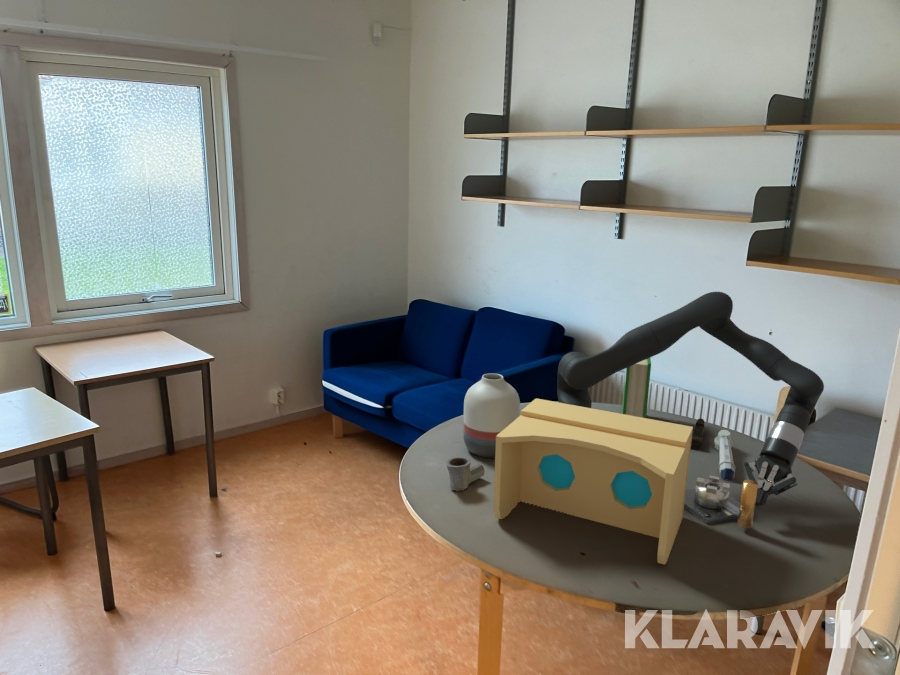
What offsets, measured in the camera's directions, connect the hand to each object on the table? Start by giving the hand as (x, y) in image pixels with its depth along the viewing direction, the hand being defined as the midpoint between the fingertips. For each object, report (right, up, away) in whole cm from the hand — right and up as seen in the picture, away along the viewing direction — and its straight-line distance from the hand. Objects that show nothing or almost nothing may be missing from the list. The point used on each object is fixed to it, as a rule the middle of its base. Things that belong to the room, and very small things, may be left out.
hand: (756, 504), depth 157 cm
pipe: (-70, 0, +19) cm, 73 cm away
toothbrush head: (+7, +3, +36) cm, 37 cm away
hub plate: (-7, -3, +10) cm, 13 cm away
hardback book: (-12, +11, +65) cm, 67 cm away
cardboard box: (-40, -5, +2) cm, 40 cm away
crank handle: (-6, -3, +5) cm, 8 cm away
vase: (-62, +6, +42) cm, 75 cm away
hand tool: (+5, +7, +52) cm, 53 cm away
